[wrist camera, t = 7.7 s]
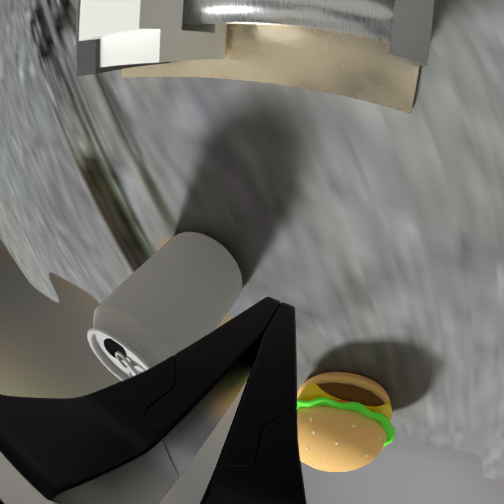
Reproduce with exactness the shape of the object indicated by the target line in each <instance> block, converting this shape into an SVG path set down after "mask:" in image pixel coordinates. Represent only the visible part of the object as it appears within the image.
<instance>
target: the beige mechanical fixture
mask: <svg viewBox="0 0 504 504" xmlns="http://www.w3.org/2000/svg"><path fill="white" fill-rule="evenodd" d="M78 8H79V1H78V3H77V20H76V50H77V28H78ZM433 11H434V0H184V2H183V16H182V26H189V25H208V24H227V31H226V45H225V59H205V60H185V61H171V62H170V63H165V64H156V65H147V66H139V67H132V68H125V69H121V78H128V77H165V76H169V77H207V78H224V79H237V80H248V81H257V82H266V83H274V84H281V85H288V86H295V87H301V88H307V89H312V90H318V91H323V92H328V93H333V94H338V95H343V96H347V97H352V98H356V99H360V100H364V101H368V102H372V103H376V104H380V105H383V106H387V107H391V108H394V109H397V110H401V111H404V112H407V113H411V110H412V105H413V100H414V95H415V89H416V84H417V78H418V72H419V66H424V65H427V62H428V55H429V48H430V40H431V31H432V22H433Z"/></svg>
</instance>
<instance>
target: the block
mask: <svg viewBox="0 0 504 504" xmlns="http://www.w3.org/2000/svg"><path fill="white" fill-rule="evenodd" d="M80 4H81V0H79V8H78V28H77V76H81V75H89V74H97V73H102V72H107V71H113V70H119V69H125V68H132V67H139V66H147V65H156V64H165V63H170V62H160V63H141V64H128V65H117V66H108V67H100V39H94V40H85V41H79V21H80Z"/></svg>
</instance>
